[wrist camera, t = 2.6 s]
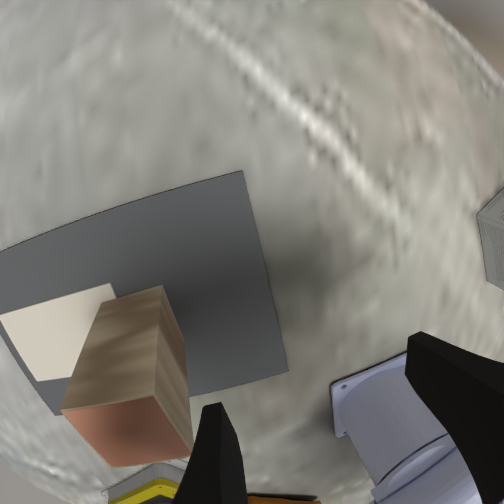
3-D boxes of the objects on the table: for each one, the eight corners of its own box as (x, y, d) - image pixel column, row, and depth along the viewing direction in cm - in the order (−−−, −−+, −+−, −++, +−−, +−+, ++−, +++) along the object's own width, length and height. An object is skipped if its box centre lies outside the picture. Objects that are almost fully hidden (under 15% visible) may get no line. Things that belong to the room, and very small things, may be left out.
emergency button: (246, 510, 22) (161, 539, 24) (239, 477, 27) (161, 513, 28) (168, 487, 19) (95, 518, 21) (167, 449, 23) (98, 490, 25)
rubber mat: (242, 170, 16) (243, 171, 16) (287, 368, 21) (289, 372, 21) (-30, 265, 15) (-33, 267, 14) (56, 413, 20) (54, 416, 19)
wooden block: (162, 284, 17) (154, 393, 9) (184, 339, 19) (195, 455, 10) (101, 302, 17) (59, 410, 9) (127, 354, 18) (111, 468, 10)
